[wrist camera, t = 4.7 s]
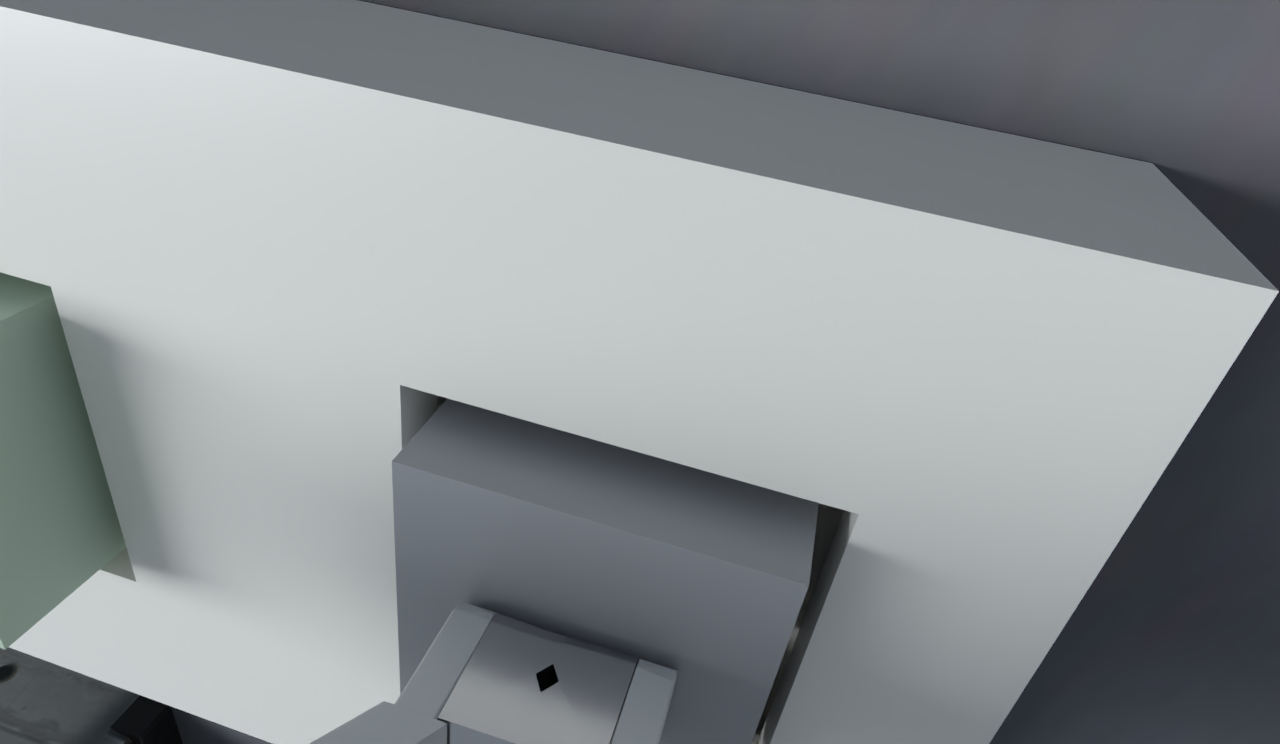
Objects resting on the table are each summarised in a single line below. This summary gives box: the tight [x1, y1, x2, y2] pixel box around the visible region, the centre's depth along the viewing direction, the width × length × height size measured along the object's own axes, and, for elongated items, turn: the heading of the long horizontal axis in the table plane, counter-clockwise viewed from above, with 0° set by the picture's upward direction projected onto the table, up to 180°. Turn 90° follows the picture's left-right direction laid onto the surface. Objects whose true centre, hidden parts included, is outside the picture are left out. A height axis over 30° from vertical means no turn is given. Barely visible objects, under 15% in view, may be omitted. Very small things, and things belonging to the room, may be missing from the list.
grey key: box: [392, 398, 819, 744], centre depth 12 cm, size 5×5×3 cm
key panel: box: [0, 0, 1279, 744], centre depth 14 cm, size 22×13×4 cm, turn 82°
